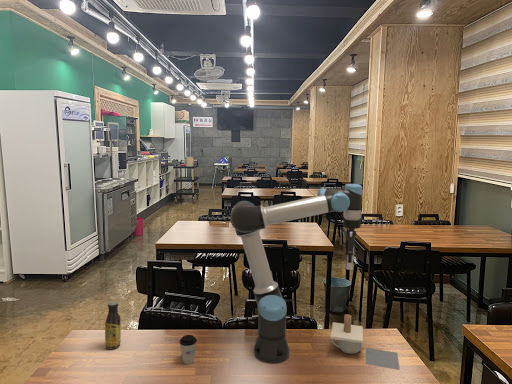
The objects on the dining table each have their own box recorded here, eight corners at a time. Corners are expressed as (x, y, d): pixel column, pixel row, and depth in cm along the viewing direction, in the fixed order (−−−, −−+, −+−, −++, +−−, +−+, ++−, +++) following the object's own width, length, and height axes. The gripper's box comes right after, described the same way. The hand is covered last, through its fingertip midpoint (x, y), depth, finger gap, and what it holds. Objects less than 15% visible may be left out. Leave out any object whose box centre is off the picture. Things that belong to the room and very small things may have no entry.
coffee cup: (176, 360, 150) (176, 337, 149) (191, 354, 155) (191, 331, 154) (184, 368, 145) (184, 344, 144) (200, 361, 150) (200, 338, 148)
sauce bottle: (102, 349, 157) (100, 305, 155) (111, 341, 164) (109, 299, 161) (115, 351, 156) (114, 306, 154) (124, 344, 162) (123, 300, 160)
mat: (365, 364, 149) (365, 363, 149) (365, 348, 161) (365, 347, 161) (399, 370, 145) (399, 369, 145) (397, 353, 158) (397, 352, 158)
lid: (330, 338, 154) (331, 320, 153) (332, 324, 166) (333, 307, 165) (362, 343, 151) (363, 324, 150) (362, 328, 163) (363, 311, 162)
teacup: (357, 343, 165) (358, 327, 164) (365, 357, 154) (366, 339, 153) (326, 344, 165) (327, 327, 164) (333, 357, 154) (333, 339, 153)
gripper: (360, 224, 151) (358, 274, 154) (361, 214, 175) (359, 257, 178) (341, 223, 153) (339, 272, 156) (345, 213, 177) (343, 256, 180)
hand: (350, 264), depth 167 cm, fingers open, 13 cm apart
